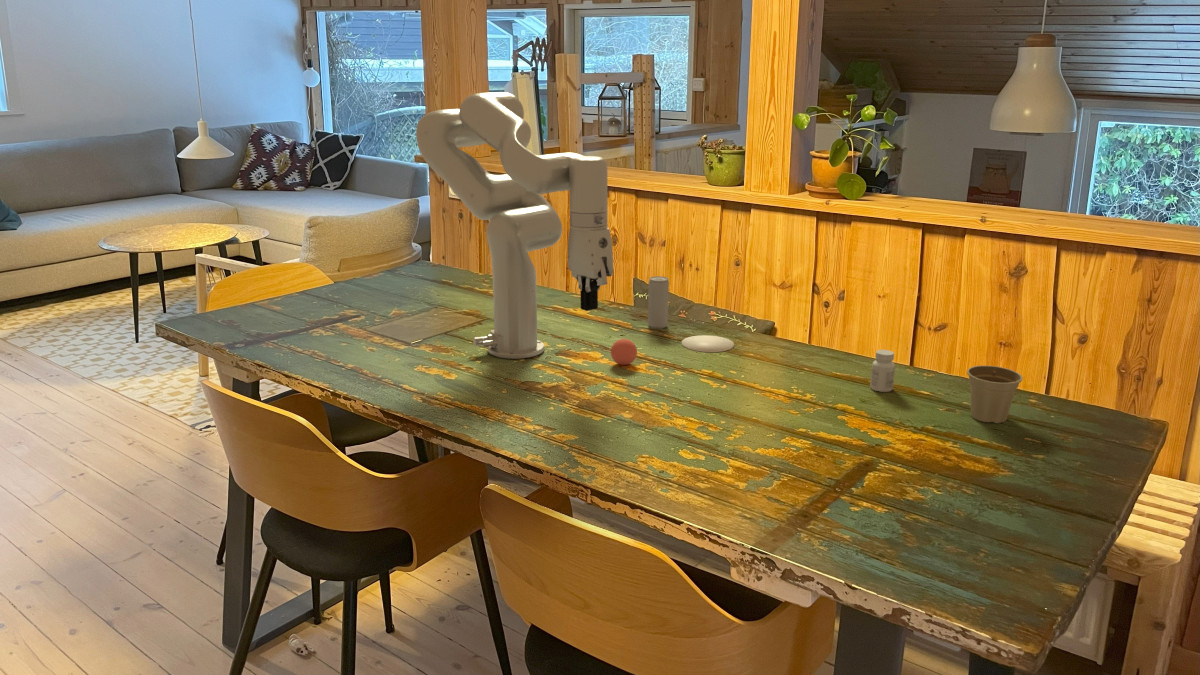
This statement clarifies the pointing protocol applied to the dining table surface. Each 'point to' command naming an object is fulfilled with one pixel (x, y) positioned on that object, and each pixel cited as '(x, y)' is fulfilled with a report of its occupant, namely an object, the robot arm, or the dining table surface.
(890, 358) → the pill bottle
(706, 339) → the disc
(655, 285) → the beverage can
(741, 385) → the dining table surface
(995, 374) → the flower pot
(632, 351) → the ball
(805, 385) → the dining table surface
